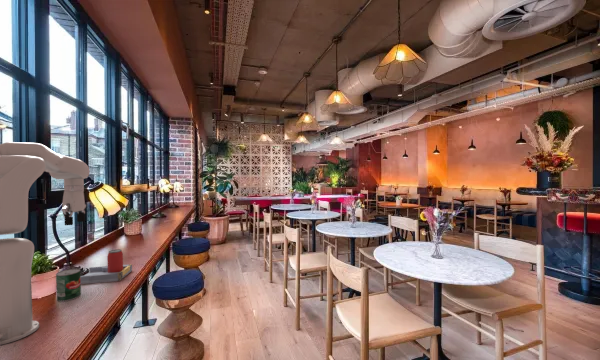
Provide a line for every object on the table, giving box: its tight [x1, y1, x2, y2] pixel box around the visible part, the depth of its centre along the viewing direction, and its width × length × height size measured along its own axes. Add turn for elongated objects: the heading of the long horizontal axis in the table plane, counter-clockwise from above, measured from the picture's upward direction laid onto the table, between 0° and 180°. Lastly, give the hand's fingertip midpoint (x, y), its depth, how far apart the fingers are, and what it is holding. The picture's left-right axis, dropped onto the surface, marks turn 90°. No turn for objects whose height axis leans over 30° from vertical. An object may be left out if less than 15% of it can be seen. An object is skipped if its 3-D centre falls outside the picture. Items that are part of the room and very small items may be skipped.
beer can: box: [106, 248, 124, 273], centre depth 137 cm, size 7×7×12 cm
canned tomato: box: [55, 268, 82, 302], centre depth 114 cm, size 8×8×11 cm
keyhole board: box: [80, 263, 133, 285], centre depth 137 cm, size 15×20×4 cm
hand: (75, 223), depth 134 cm, fingers open, 9 cm apart
